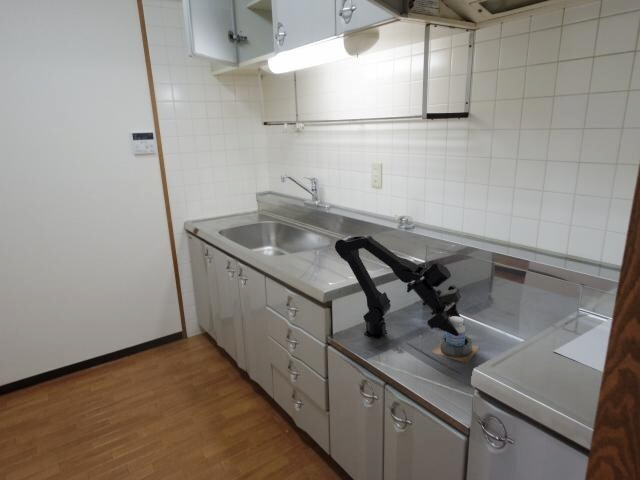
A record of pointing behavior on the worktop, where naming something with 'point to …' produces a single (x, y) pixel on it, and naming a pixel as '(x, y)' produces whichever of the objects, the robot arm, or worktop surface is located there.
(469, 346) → the ring collar
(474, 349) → the tan square board
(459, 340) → the pill bottle
